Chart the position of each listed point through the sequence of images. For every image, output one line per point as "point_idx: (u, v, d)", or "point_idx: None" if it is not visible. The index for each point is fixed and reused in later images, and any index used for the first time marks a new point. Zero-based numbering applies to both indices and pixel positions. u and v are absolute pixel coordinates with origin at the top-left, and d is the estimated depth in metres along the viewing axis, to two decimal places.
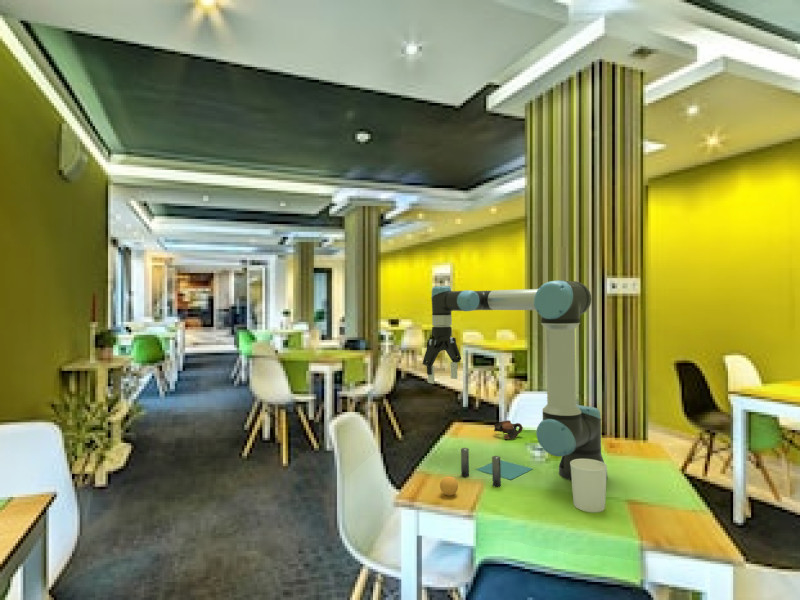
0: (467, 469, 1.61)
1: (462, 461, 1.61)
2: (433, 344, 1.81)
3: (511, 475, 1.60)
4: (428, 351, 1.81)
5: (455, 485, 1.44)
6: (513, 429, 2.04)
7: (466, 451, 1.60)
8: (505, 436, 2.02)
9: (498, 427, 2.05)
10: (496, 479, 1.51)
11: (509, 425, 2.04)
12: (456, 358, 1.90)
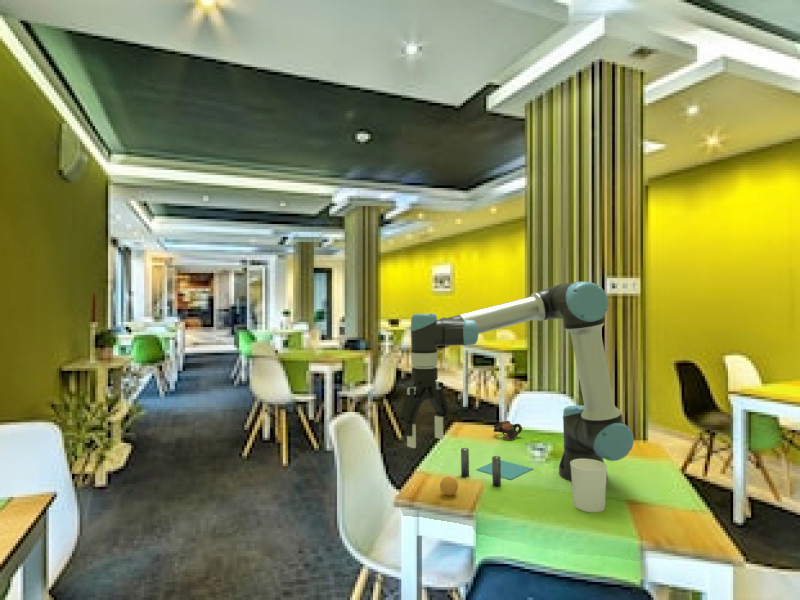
0: (467, 469, 1.61)
1: (462, 461, 1.61)
2: (412, 394, 1.34)
3: (511, 475, 1.60)
4: (406, 404, 1.34)
5: (455, 485, 1.44)
6: (513, 430, 2.03)
7: (466, 451, 1.60)
8: (504, 437, 2.01)
9: (498, 428, 2.04)
10: (496, 479, 1.51)
11: (509, 426, 2.03)
12: (442, 411, 1.43)
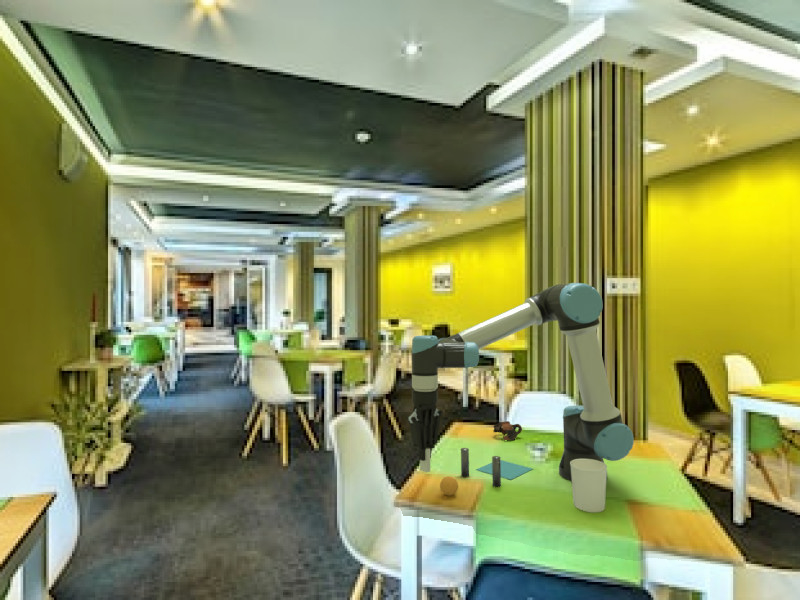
0: (467, 469, 1.61)
1: (462, 461, 1.61)
2: (415, 422, 1.35)
3: (511, 475, 1.60)
4: (413, 431, 1.36)
5: (455, 485, 1.44)
6: (512, 430, 2.02)
7: (466, 451, 1.60)
8: (504, 437, 2.00)
9: (497, 428, 2.03)
10: (496, 479, 1.51)
11: (508, 426, 2.03)
12: (431, 441, 1.39)
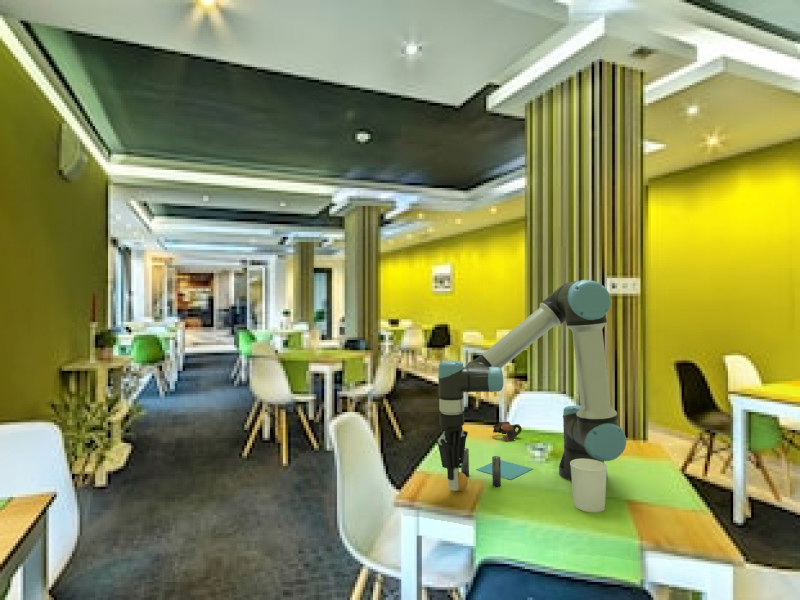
0: (467, 469, 1.61)
1: None
2: (444, 444, 1.42)
3: (511, 475, 1.60)
4: (442, 453, 1.43)
5: (467, 481, 1.48)
6: (512, 430, 2.02)
7: (466, 451, 1.60)
8: (504, 437, 2.00)
9: (497, 428, 2.03)
10: (496, 479, 1.51)
11: (508, 426, 2.02)
12: (458, 461, 1.47)
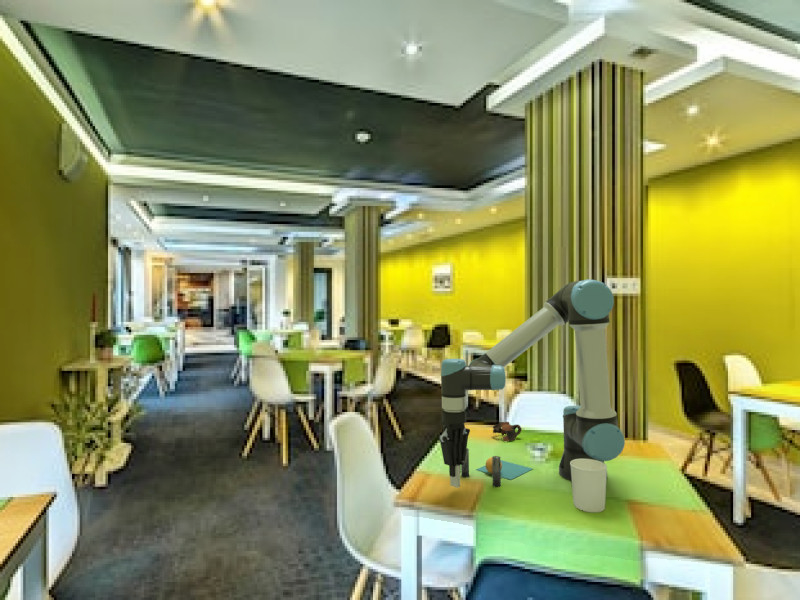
0: (467, 469, 1.61)
1: (462, 461, 1.61)
2: (446, 441, 1.44)
3: (511, 475, 1.60)
4: (444, 450, 1.45)
5: (501, 467, 1.62)
6: (512, 430, 2.01)
7: (466, 451, 1.60)
8: (504, 438, 2.00)
9: (497, 429, 2.02)
10: (496, 479, 1.51)
11: (508, 426, 2.02)
12: (460, 458, 1.48)
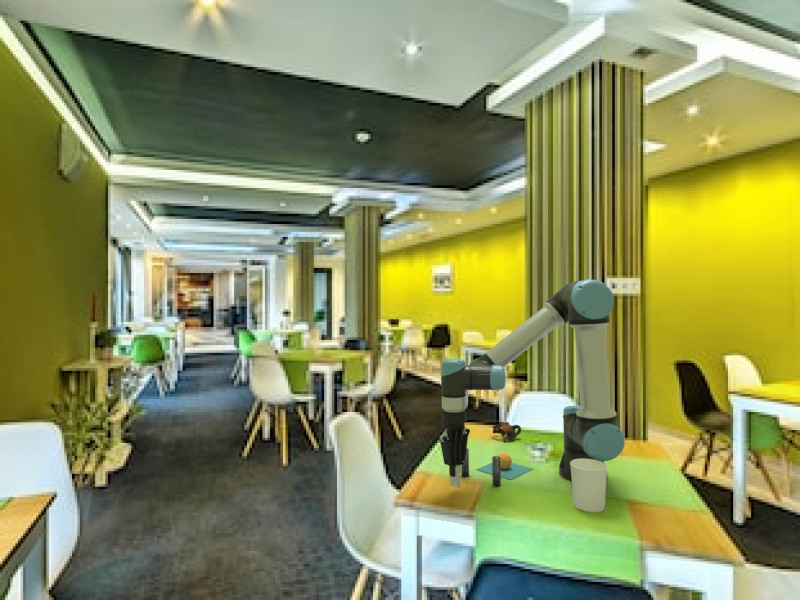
0: (467, 469, 1.61)
1: (462, 461, 1.61)
2: (446, 441, 1.44)
3: (511, 475, 1.60)
4: (444, 450, 1.45)
5: (509, 464, 1.65)
6: (512, 431, 2.01)
7: (466, 451, 1.60)
8: (504, 438, 1.99)
9: (497, 429, 2.02)
10: (496, 479, 1.51)
11: (508, 427, 2.01)
12: (460, 458, 1.48)
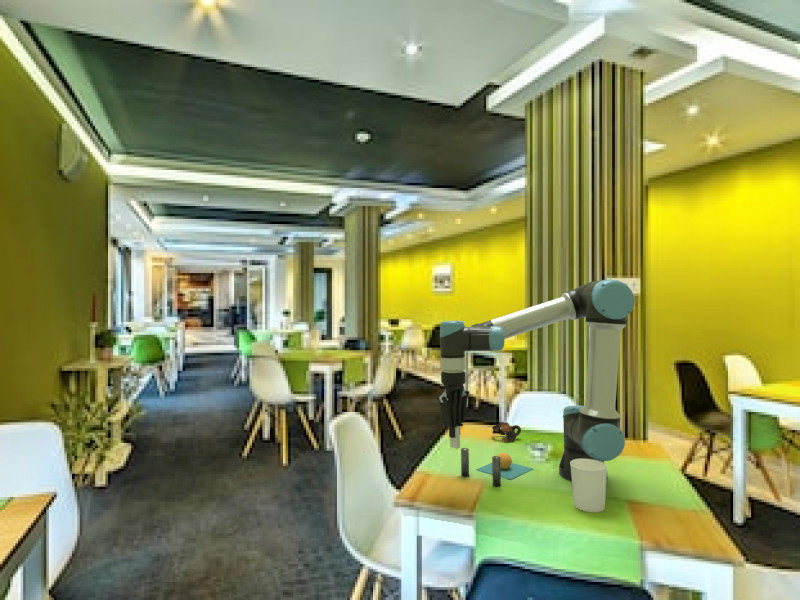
0: (467, 469, 1.61)
1: (462, 461, 1.61)
2: (446, 401, 1.44)
3: (511, 475, 1.60)
4: (444, 410, 1.45)
5: (509, 464, 1.65)
6: (512, 431, 2.00)
7: (466, 451, 1.60)
8: (503, 438, 1.98)
9: (496, 429, 2.01)
10: (496, 479, 1.51)
11: (508, 427, 2.01)
12: (460, 420, 1.48)
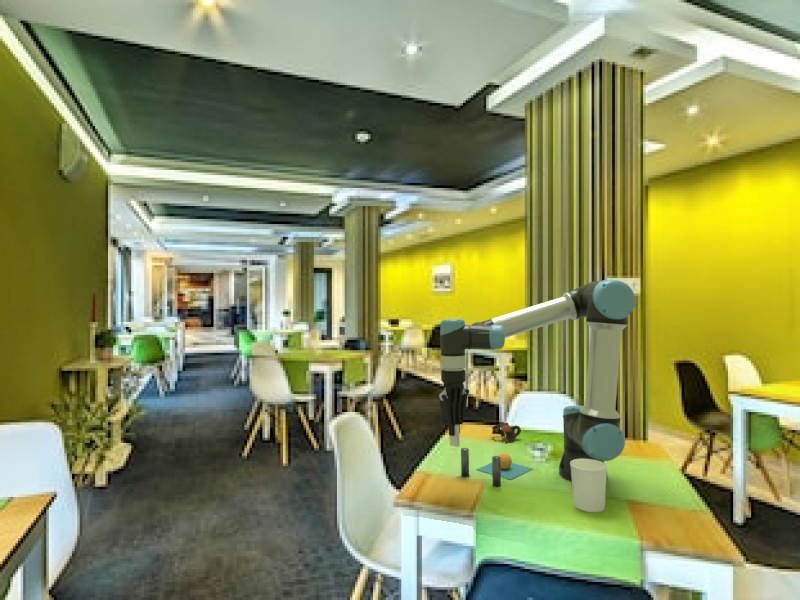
0: (467, 469, 1.61)
1: (462, 461, 1.61)
2: (445, 399, 1.44)
3: (511, 475, 1.60)
4: (444, 408, 1.45)
5: (509, 464, 1.65)
6: (511, 431, 2.00)
7: (466, 451, 1.60)
8: (503, 439, 1.98)
9: (496, 430, 2.01)
10: (496, 479, 1.51)
11: (507, 427, 2.00)
12: (459, 418, 1.48)
